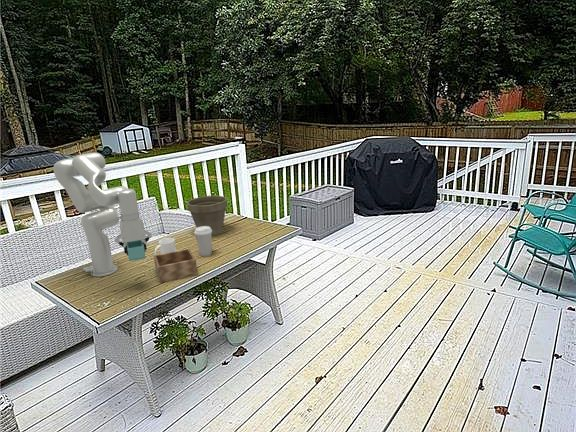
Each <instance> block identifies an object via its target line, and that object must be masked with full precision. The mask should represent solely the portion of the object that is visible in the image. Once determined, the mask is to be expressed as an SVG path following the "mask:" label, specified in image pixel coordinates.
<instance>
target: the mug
mask: <svg viewBox="0 0 576 432" xmlns="http://www.w3.org/2000/svg"><path fill="white" fill-rule="evenodd" d="M158 250H159V252H160V254H165V253H170V252H175V251H177V248H176V240H175V238H172V237H165V238H162V239H160V240H159V241H158V245H157V246H156V247H155V248H154V256H155V255H159V254H158Z"/></svg>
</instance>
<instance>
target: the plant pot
mask: <svg viewBox="0 0 576 432" xmlns="http://www.w3.org/2000/svg"><path fill="white" fill-rule="evenodd" d="M186 206H187V210H188V211H189V212H190V215H191V217H192V219H193V222H194V225H195V229H196V228H198V227H201V226H209V227H210V228H211V230H212V232H211V237H214V236H217V235H219V234H221V233H222V232H223V228H224V224H225V218H226V217H225V216H226V209H227V207H228V198H227V197H225V196H223V195H221V196H220V195H207V196H206V195H205V196H200V197H194V198H191V199H189V200H188V201H187V202H186Z"/></svg>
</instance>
